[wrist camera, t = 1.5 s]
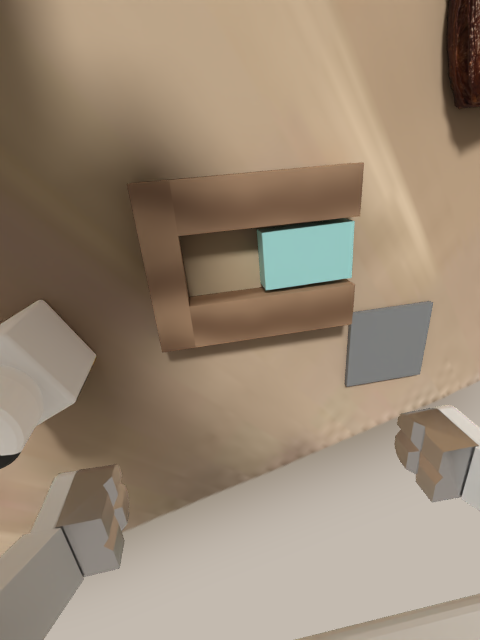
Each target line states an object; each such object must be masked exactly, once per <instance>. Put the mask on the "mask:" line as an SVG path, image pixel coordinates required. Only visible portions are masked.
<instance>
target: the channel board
mask: <svg viewBox="0 0 480 640" xmlns="http://www.w3.org/2000/svg"><path fill="white" fill-rule="evenodd" d="M363 169H364V163H348V164H337V165H326V166H315V167H304V168H293V169H282V170H271V171H260V172H249V173H238V174H227V175H216V176H204V177H193V178H182V179H171V180H160V181H149V182H138V183H130V184H127V187H128V192H129V196H130V201H131V206H132V211H133V215H134V220H135V225H136V230H137V234H138V239H139V244H140V249H141V253H142V258H143V263H144V268H145V272H146V277H147V282H148V287H149V291H150V296H151V301H152V306H153V310H154V315H155V320H156V325H157V329H158V334H159V339H160V344H161V349H162V352H169V351H176V350H182V349H189V348H196V347H203V346H209V345H216V344H223V343H229V342H236V341H243V340H250V339H256V338H263V337H270V336H276V335H283V334H290V333H297V332H303V331H310V330H317V329H323V328H330V327H337V326H344V325H350V324H352V317H353V304H354V290H355V284H353V283H351V282H350V281H348V280H347V279H339V280H332V281H326V282H319V283H312V284H306V285H299V286H292V287H285V288H279V289H272V290H265V288H264V287H261V288H253V289H246V290H238V291H230V292H223V293H215V294H207V295H200V296H192V297H189V295H188V289H187V282H186V276H185V270H184V263H183V257H182V251H181V244H180V238H179V236H183V235H192V234H202V233H211V232H220V231H229V230H238V229H247V228H256V227H265V226H274V225H283V224H292V223H302V222H311V221H320V220H329V219H338V218H347V217H356V216H360V209H361V196H362V182H363Z"/></svg>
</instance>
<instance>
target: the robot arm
mask: <svg viewBox="0 0 480 640" xmlns="http://www.w3.org/2000/svg"><path fill="white" fill-rule="evenodd" d="M397 425H398V426H399V427H400V429H401V430H400V431H399V432H398V434H397V435H396V436H395V449H396V453H397V456H398V458H399V460H400V462H401V463H402V464H403V466H404V467H405V468H406V469H407V470H409V471H411V472H413V473H414V474H416V482H417V484H418V485H419V486H420V488H421V489H422V490H423V492H424V493H425V494H426V495H427V497H428V498H429V499H430V501H431V502H436V501H441V500H448V499H453V498H459V497H461V499H462V500H464V501H465V502H467V503H468V504H470V505H471V506H473V507H475V508H476V509H478V510H479V511H480V428H479V427H478V426H477V425H476V424H475V423H473V422H472V421H471V420H470V419H468V418H467V417H466V416H465V415H464V414H462V413H461V412H460V411H459V410H458V409H456V408H455V407H453V406H451V405H444V406H439V407H434V408H429V409H423V410H418V411H413V412H407V413H402V414H400V416H399V417H398V422H397ZM121 478H122V471H121V469H120V466H119V465H117V464H114V465H108V466H101V467H95V468H88V469H81V470H78V471H71V472H64V473H59V474H58V475H57V476H56V477H55V478H54V480H53V482H52V485H51V487H50V489H49V491H48V494H47V496H46V498H45V500H44V503H43V505H42V507H41V509H40V511H39V514H38V516H37V518H36V520H35V523H34V525H33V527H32V529H31V532H30V534H25V535H23V536H22V537H20V538H19V539H18V540H17V541H16V542H15V543H14V544H13V545H12V546H11V547H10V548H9V549H8V550H7V551H6V552H5V553H4V554H3V555H2V556H1V557H0V640H44V638H45V637H46V635H47V634H48V632H49V631H50V629H51V628H52V626H53V625H54V623H55V622H56V620H57V619H58V617H59V616H60V614H61V613H62V611H63V610H64V608H65V607H66V605H67V604H68V602H69V601H70V599H71V598H72V596H73V595H74V593H75V592H76V590H77V589H78V587H79V586H80V584H81V583H82V581H83V580H84V578H83V577H86V576H90V575H94V574H98V573H102V572H107V571H111V570H115V569H119V568H120V563H121V557H122V551H123V546H124V538H123V535H122V532H121V531H122V530H123V529H124V527H125V526H126V525H127V523H128V516H129V496H128V491H127V487H126V486H125V485H124V484H122V483H121ZM295 640H480V594H476V595H472V596H468V597H464V598H460V599H456V600H452V601H448V602H444V603H440V604H436V605H432V606H428V607H424V608H420V609H416V610H412V611H408V612H404V613H400V614H396V615H392V616H388V617H384V618H380V619H376V620H372V621H368V622H364V623H360V624H356V625H352V626H348V627H344V628H340V629H336V630H332V631H328V632H324V633H320V634H316V635H312V636H308V637H304V638H300V639H295Z"/></svg>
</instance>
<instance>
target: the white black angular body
mask: <svg viewBox="0 0 480 640" xmlns="http://www.w3.org/2000/svg"><path fill="white" fill-rule="evenodd" d="M95 359H96V354H95V353H94V352H93V351H92V350H91V349H90V348H89V347H88V346H87V345H86V344H85V343H84V341H83V340H82V339H81V338H80V337H79V336H78V335H77V334H76V333H75V332H74V331H73V330H72V329H71V328H70V327H69V326H68V325H67V324H66V323H65V322H64V321H63V320H62V319H61V317H60V316H59V315H58V314H57V313H56V312H55V311H54V310H53V309H52V308H51V307H50V306H49V305H48V304H47V303H46V302H45V301H44V300H37V301H36V302H34V303H33V304H31V305H30V306H28V307H26V308H25V309H23V310H22V311H20V312H19V313H17V314H15V315H14V316H12V317H11V318H9V319H8V320H6V321H4V322H3V323H1V324H0V469H1V468H3V467H6V466H7V465H9V464H11V463H12V462H13V461H14V460H15V459H16V458H17V457H18V456H19V454H20V453H21V451H22V449H23V448H24V446H25V444H26V442H27V441H28V439H29V437H30V435H31V434H32V432H33V430H34V429H35V427H36V426H37V425H39V424H40V423H42V422H44V421H45V420H47V419H49V418H50V417H52V416H54V415H55V414H57V413H59V412H60V411H62V410H64V409H65V408H67V407H69V406H70V405H72V404H74V403H75V402H76V401H77V398H78V396H79V394H80V392H81V390H82V388H83V385H84V383H85V381H86V379H87V377H88V375H89V372H90V370H91V368H92V366H93V364H94V362H95Z"/></svg>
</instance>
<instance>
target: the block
mask: <svg viewBox="0 0 480 640" xmlns="http://www.w3.org/2000/svg"><path fill="white" fill-rule="evenodd" d="M257 239H258V253H259V266H260V280H261V284H262V286H263V287H264V288H265V290H272V289H279V288H285V287H292V286H299V285H306V284H312V283H319V282H326V281H332V280H339V279H346V278H352V259H353V239H354V221H352V220H349V219H345V218H339V219H331V220H324V221H316V222H308V223H300V224H293V225H285V226H277V227H269V228H262V229H257Z"/></svg>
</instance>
